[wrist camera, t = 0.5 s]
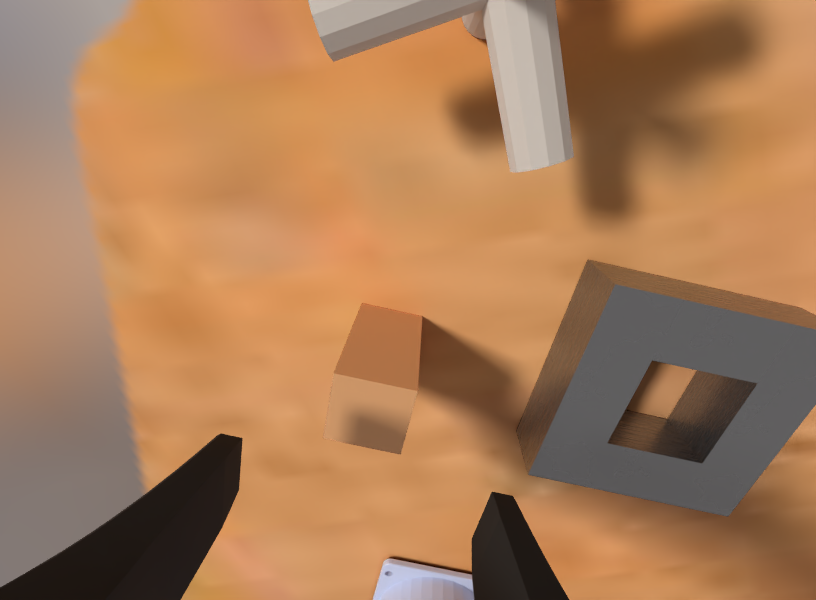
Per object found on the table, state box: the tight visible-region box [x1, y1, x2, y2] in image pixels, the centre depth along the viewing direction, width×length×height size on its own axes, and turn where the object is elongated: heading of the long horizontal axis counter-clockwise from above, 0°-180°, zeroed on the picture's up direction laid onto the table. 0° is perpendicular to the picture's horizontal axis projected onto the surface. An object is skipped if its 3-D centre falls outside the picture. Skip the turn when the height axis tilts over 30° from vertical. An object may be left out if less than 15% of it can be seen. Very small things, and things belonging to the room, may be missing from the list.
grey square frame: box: [517, 260, 816, 516], centre depth 19 cm, size 10×10×3 cm
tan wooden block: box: [323, 303, 422, 454], centre depth 17 cm, size 3×3×6 cm
